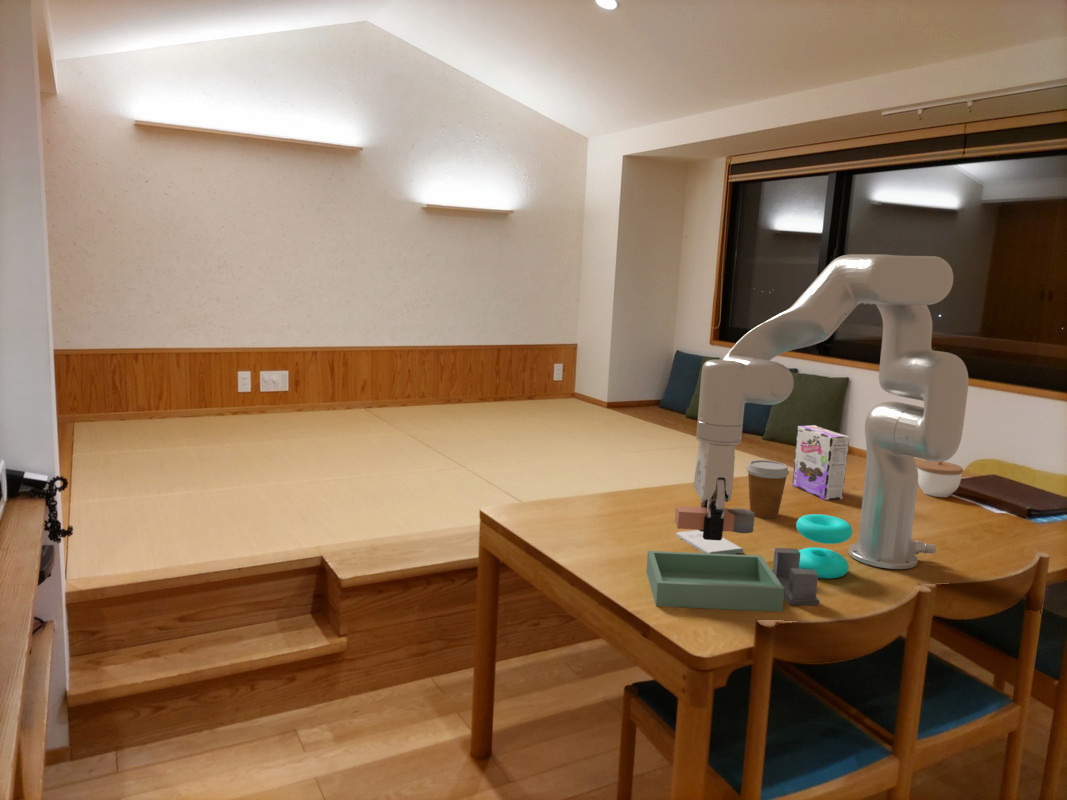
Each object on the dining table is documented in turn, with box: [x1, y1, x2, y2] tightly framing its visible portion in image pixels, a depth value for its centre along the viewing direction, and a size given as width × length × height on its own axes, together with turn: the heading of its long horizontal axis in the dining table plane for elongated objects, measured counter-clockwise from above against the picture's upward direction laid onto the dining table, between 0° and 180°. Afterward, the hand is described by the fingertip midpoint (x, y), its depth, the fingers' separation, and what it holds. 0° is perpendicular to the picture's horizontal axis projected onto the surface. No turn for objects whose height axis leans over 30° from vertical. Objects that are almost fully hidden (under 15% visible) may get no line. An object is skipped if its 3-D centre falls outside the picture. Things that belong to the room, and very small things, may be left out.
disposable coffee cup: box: [746, 459, 790, 519], centre depth 182 cm, size 10×10×12 cm
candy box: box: [791, 424, 851, 501], centre depth 202 cm, size 14×6×16 cm, turn 17°
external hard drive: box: [675, 529, 744, 555], centre depth 161 cm, size 2×8×12 cm
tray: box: [646, 550, 784, 613], centre depth 138 cm, size 21×15×4 cm
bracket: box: [771, 547, 820, 607], centre depth 139 cm, size 13×5×6 cm, turn 178°
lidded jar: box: [916, 460, 964, 498], centre depth 204 cm, size 11×11×9 cm
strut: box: [674, 505, 756, 534], centre depth 136 cm, size 13×5×3 cm, turn 88°
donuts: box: [795, 513, 853, 579], centre depth 148 cm, size 10×10×10 cm
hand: (709, 534), depth 136 cm, fingers closed on strut, 3 cm apart
